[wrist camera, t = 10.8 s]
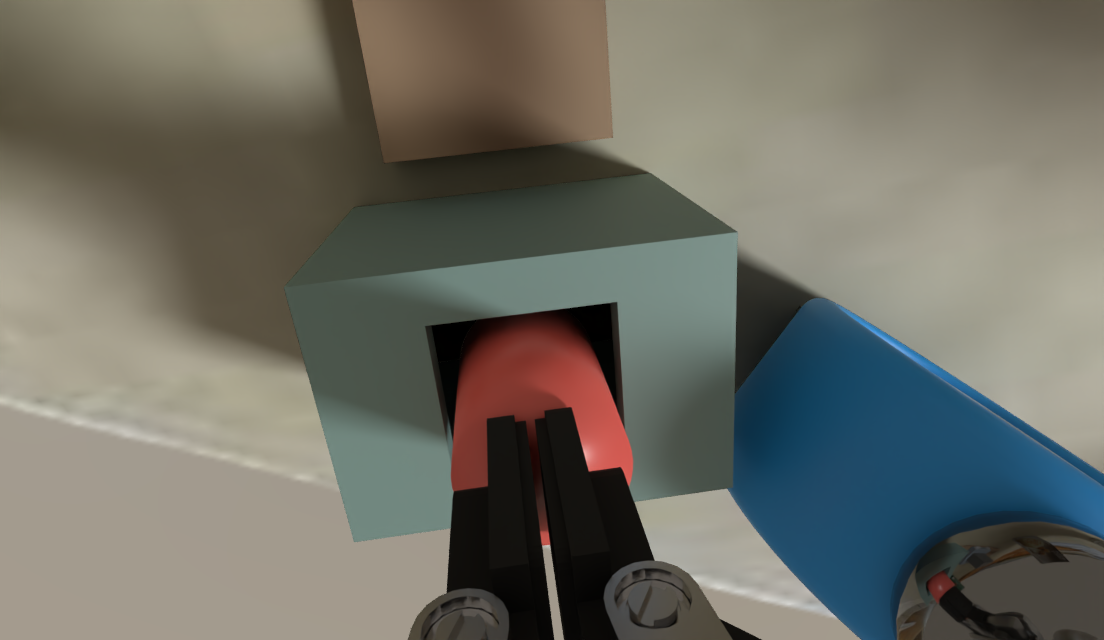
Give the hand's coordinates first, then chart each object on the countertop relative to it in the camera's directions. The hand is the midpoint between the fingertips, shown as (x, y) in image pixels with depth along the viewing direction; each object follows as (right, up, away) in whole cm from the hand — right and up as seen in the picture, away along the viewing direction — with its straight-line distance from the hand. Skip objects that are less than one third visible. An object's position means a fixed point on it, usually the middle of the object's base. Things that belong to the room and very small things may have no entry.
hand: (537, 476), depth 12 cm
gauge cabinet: (-1, +4, +10) cm, 11 cm away
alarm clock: (+12, 0, +13) cm, 18 cm away
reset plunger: (0, +2, +5) cm, 5 cm away
